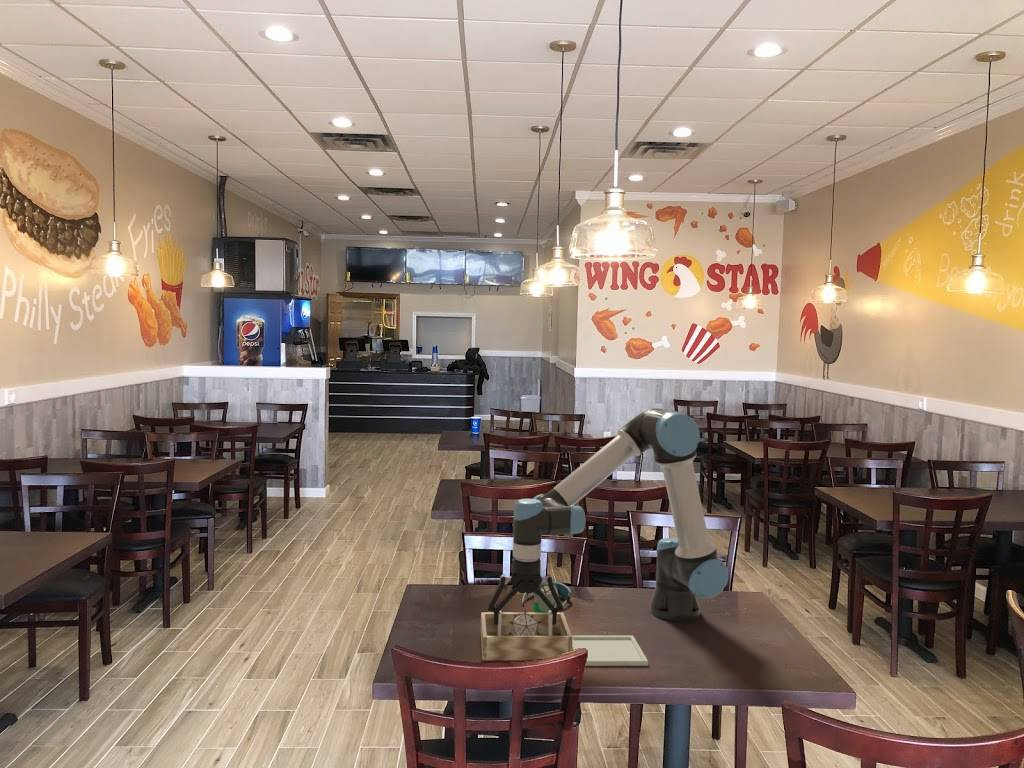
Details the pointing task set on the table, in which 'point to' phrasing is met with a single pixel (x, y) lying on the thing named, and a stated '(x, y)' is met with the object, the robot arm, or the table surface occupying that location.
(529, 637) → the birch crate
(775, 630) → the table surface
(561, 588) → the sunglasses
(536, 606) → the food container
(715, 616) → the table surface
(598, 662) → the tray
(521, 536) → the robot arm
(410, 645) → the table surface
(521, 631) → the game die
